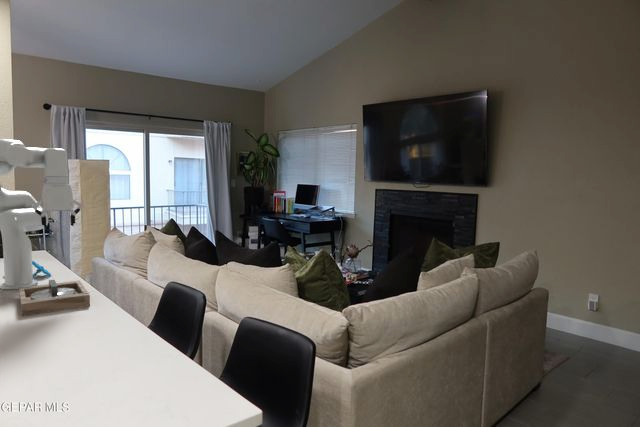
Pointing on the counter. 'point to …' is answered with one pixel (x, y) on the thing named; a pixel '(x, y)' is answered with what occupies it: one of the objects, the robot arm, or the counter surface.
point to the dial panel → (53, 299)
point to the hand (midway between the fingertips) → (58, 226)
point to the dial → (52, 291)
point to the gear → (40, 269)
